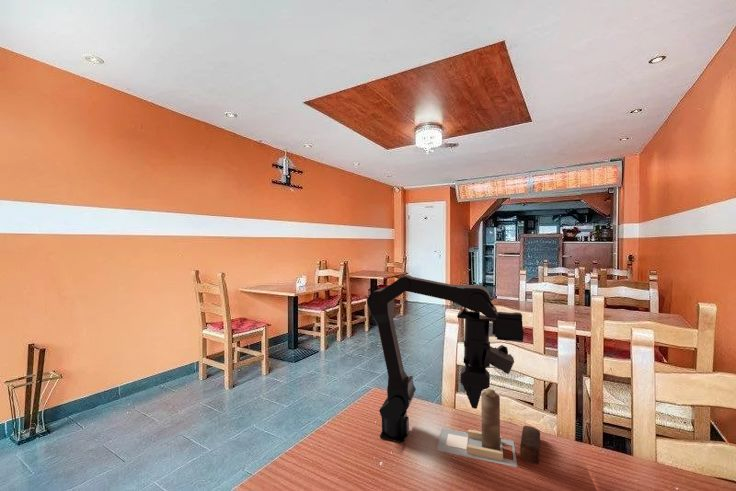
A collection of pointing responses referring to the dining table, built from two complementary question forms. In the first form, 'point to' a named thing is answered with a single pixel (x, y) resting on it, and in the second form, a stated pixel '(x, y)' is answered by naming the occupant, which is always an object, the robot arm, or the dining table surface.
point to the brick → (530, 444)
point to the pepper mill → (490, 420)
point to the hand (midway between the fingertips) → (475, 399)
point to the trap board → (473, 446)
